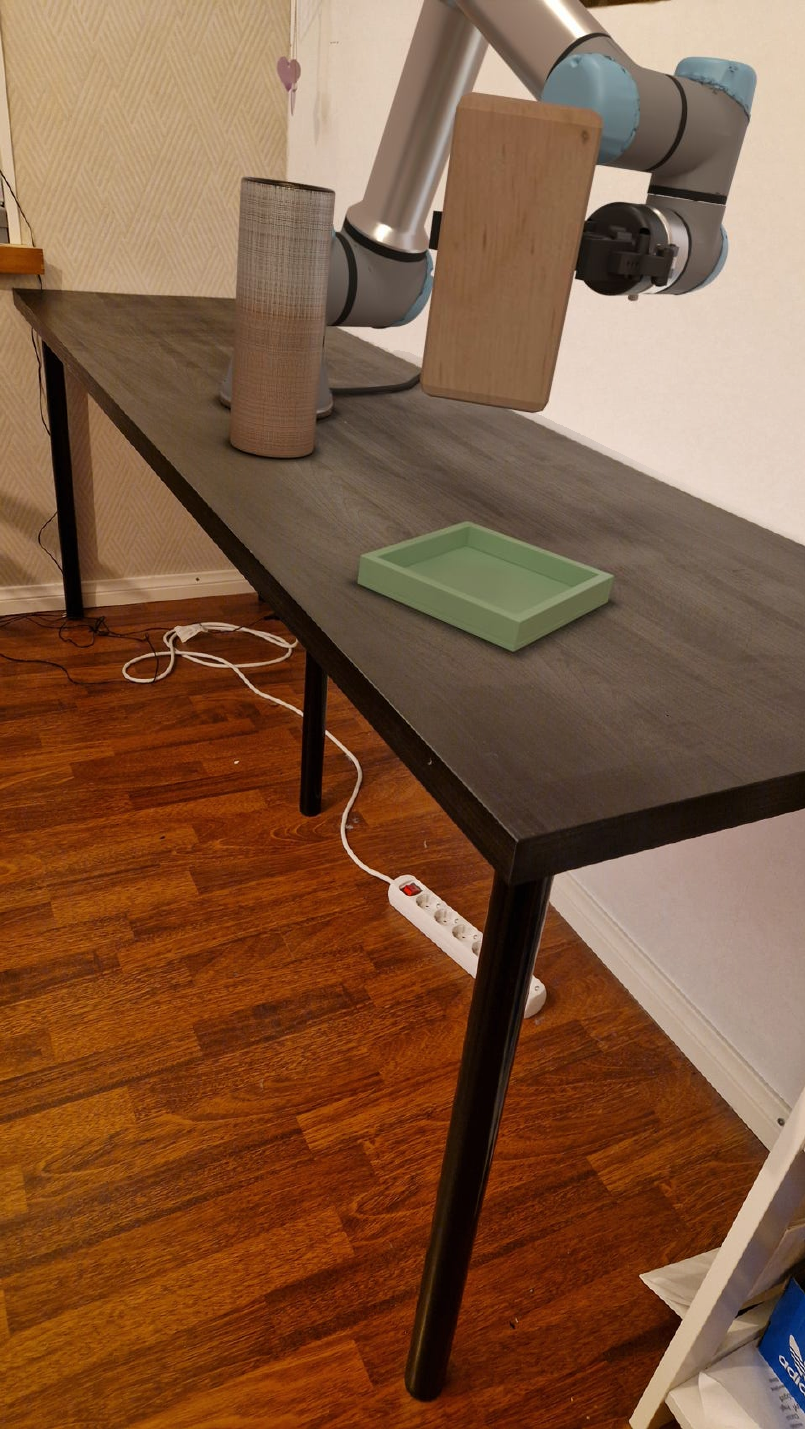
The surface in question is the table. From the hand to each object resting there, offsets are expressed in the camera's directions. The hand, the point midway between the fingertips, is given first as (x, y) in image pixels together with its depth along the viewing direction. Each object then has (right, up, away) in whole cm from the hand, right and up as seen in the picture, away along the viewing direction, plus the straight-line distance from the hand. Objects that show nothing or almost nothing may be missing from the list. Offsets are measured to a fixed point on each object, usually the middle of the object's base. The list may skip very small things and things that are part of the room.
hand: (505, 244), depth 72 cm
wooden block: (-1, -9, +6) cm, 11 cm away
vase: (-23, -3, +43) cm, 49 cm away
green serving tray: (0, -25, +12) cm, 27 cm away
